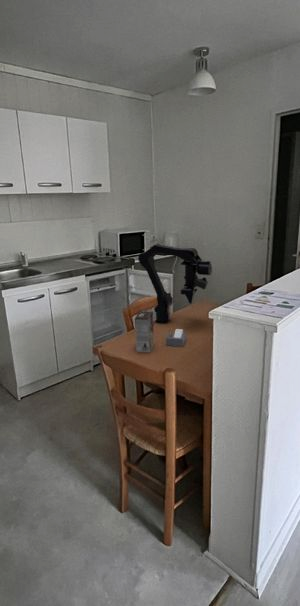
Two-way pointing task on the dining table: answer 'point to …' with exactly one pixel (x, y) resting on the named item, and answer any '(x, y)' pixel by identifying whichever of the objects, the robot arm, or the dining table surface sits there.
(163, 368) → the dining table surface
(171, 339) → the end cap
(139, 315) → the coffee box
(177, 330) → the slat
